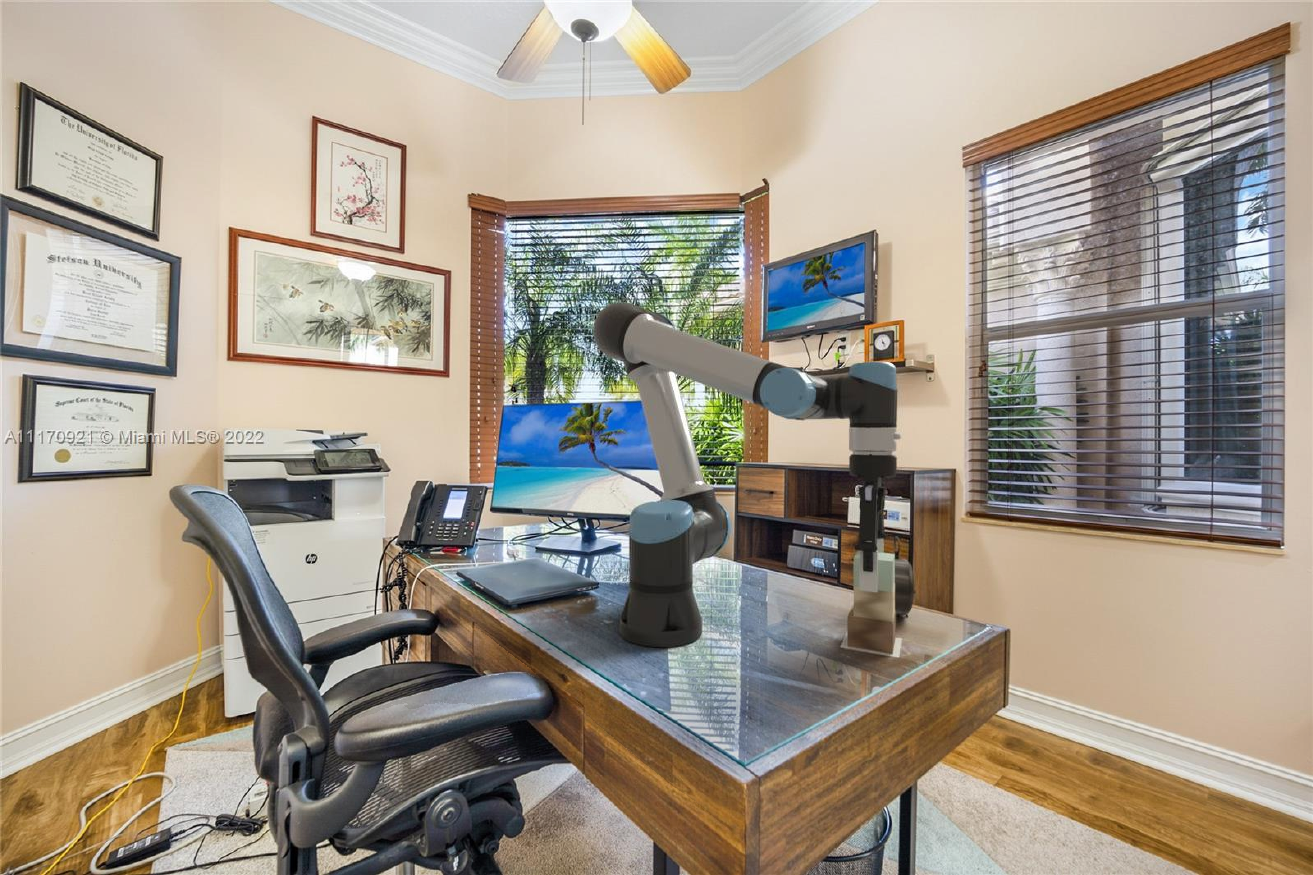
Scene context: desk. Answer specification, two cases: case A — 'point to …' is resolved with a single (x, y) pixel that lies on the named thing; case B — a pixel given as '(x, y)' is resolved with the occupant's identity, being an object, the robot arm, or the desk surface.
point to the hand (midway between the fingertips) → (872, 582)
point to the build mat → (895, 652)
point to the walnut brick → (870, 633)
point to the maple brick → (874, 604)
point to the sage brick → (879, 571)
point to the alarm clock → (903, 584)
